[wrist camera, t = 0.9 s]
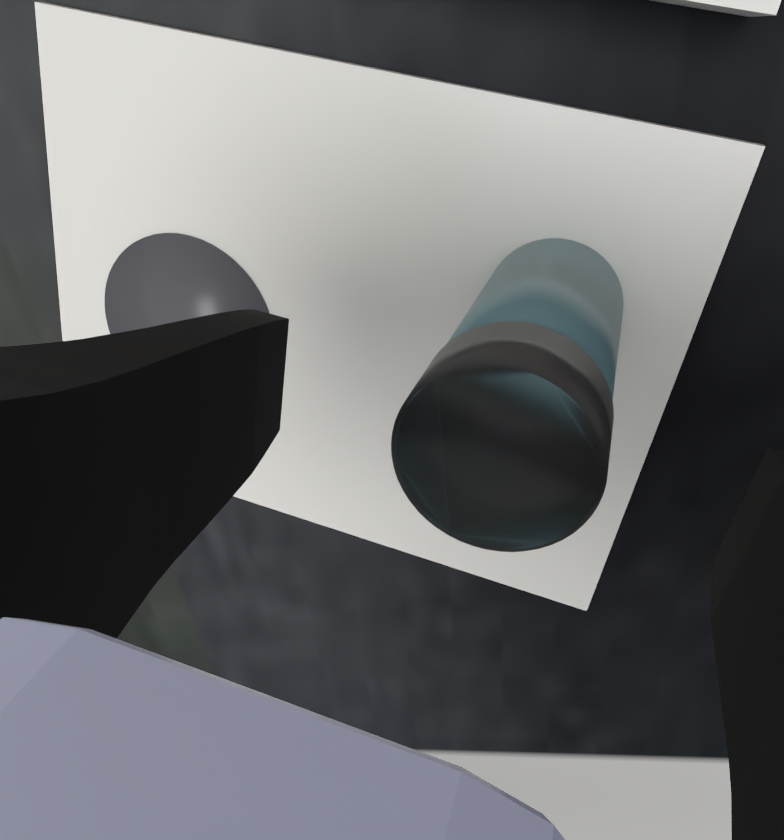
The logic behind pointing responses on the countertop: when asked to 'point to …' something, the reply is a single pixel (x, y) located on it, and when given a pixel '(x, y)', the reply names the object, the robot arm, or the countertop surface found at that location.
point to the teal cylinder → (518, 404)
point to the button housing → (732, 6)
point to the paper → (367, 244)
